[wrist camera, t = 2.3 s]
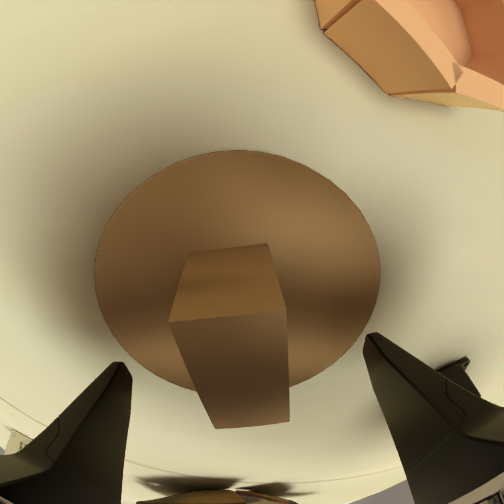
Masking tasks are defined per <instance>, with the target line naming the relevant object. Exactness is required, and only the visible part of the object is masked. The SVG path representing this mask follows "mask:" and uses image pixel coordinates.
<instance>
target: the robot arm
mask: <svg viewBox="0 0 504 504" xmlns="http://www.w3.org/2000/svg"><path fill="white" fill-rule="evenodd" d="M363 356H364V359H365V362H366V366H367V369H368V373H369V376H370V380H371V383H372V386H373V390H374V392H375V395H376V397H377V400H378V402H379V404H380V407H381V409H382V412H383V414H384V417H385V420H386V422H387V425H388V427H389V430H390V432H391V435H392V438H393V440H394V443H395V446H396V449H397V451H398V454H399V457H400V460H401V463H402V465H403V468H404V471H405V474H406V478H407V480H408V484H409V487H410V490H411V493H412V496H413V499H414V503H415V504H504V407H500V406H498V405H496V404H494V403H493V404H492V403H490V402H488V401H486V400H484V399H482V398H481V395H480V393H479V392H478V390H477V388H476V387H475V385H474V384H473V382H472V381H471V379H470V378H469V376H468V375H467V373H466V372H465V370H466V368H467V366H468V364H469V363H470V360H469V359H468V358H465V359H463V360H461V361H459V362H457V363H455V364H453V365H451V366H449V367H446V368H444V369H442V370H440V371H435V370H434V369H432V368H431V367H429V366H428V365H426V364H425V363H423V362H422V361H420V360H419V359H417V358H416V357H414V356H413V355H411V354H410V353H408V352H407V351H405V350H404V349H402V348H401V347H399V346H398V345H396V344H395V343H393V342H392V341H390V340H389V339H387V338H385V337H384V336H382V335H381V334H379V333H377V332H374V333H370V334H367V335H366V338H365V343H364V347H363ZM132 382H133V380H132V375H131V374H130V372H129V370H128V369H127V367H126V365H125V364H124V363H123V362H113V363H111V364H110V365H109V366H108V367H107V368H106V369H105V370H104V371H103V372H102V373H101V374H100V375H99V376H98V377H97V378H96V379H95V380H94V381H93V382H92V383H91V384H90V385H89V386H88V387H87V388H86V389H85V390H84V391H83V392H82V393H81V394H80V395H79V396H78V397H77V398H76V399H75V400H74V401H73V402H72V403H71V404H70V405H69V406H68V407H67V408H66V409H65V410H64V411H63V412H62V413H61V414H60V415H59V417H57V418H56V419H55V420H54V421H53V422H52V423H51V424H50V425H49V426H48V427H47V428H46V429H45V430H44V431H43V432H42V433H40V434H39V435H38V436H37V437H36V438H35V439H33V440H32V441H31V442H30V443H29V444H27V445H26V446H25V447H24V448H23V449H21V450H20V451H18V452H16V453H14V454H8V455H0V504H121V492H122V479H123V468H124V458H125V450H126V442H127V435H128V428H129V421H130V414H131V397H132Z"/></svg>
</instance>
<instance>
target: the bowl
mask: <svg viewBox="0 0 504 504" xmlns="http://www.w3.org/2000/svg"><path fill="white" fill-rule="evenodd" d="M315 3H316V8H317V13H318V18H319V23H320V28H321V29H325V30H326V31H325V32H324V34H325V35H326V36H327V37H328V38H330V39H331V40H332V41H333V42H334V43H336V44H337V45H338V46H339V47H340V48H341V49H342V50H344V51H345V52H346V53H347V54H348V55H349V56H350V57H351V58H352V59H353V60H354V61H355V62H356V63H357V64H359V65H360V66H361V67H362V68H363V69H364V70H365V71H366V72H367V73H368V74H369V75H370V77H371V78H372V79H373V80H374V81H375V82H376V83H377V84H378V85H379V86H380V87H381V88H382V89H383V90H384V92H385V93H386V94H390V96H393V97H401V98H407V99H414V100H420V101H425V102H430V103H435V104H440V105H445V106H453V107H468V108H479V109H488V110H496V111H503V112H504V0H315Z"/></svg>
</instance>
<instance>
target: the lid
mask: <svg viewBox="0 0 504 504" xmlns="http://www.w3.org/2000/svg"><path fill="white" fill-rule="evenodd" d="M379 282H380V263H379V255H378V250H377V246H376V242H375V239H374V236H373V234H372V232H371V229H370V227H369V224H368V223H367V221H366V219H365V218H364V216H363V215H362V213H361V211H360V210H359V208H358V207H357V206H356V205H355V204H354V202H353V201H352V200H351V199H350V198H349V197H348V196H347V194H346V193H344V192H343V191H342V190H341V189H340V188H338V187H337V186H336V185H335V184H334V183H332V182H331V181H330V180H329V179H327V178H325V177H324V176H322V175H320V174H319V173H317V172H315V171H313V170H312V169H310V168H308V167H306V166H305V165H302V164H300V163H297V162H295V161H292V160H290V159H287V158H285V157H281V156H277V155H272V154H268V153H264V152H255V151H242V150H234V151H220V152H212V153H208V154H203V155H199V156H194V157H191V158H188V159H186V160H183V161H181V162H178V163H176V164H173V165H171V166H169V167H167V168H166V169H164V170H162V171H161V172H159V173H157V174H155V175H154V176H152V177H151V178H149V179H148V180H146V181H145V182H144V183H142V184H141V185H140V186H139V187H138V188H136V189H135V190H134V191H133V192H132V193H131V194H129V195H128V197H127V198H126V199H125V200H124V201H123V202H122V204H121V205H120V206H119V207H118V208H117V209H116V211H115V212H114V214H113V216H112V217H111V219H110V221H109V222H108V224H107V226H106V228H105V230H104V232H103V235H102V237H101V240H100V243H99V246H98V251H97V255H96V260H95V288H96V295H97V299H98V303H99V306H100V309H101V312H102V314H103V317H104V319H105V322H106V323H107V325H108V327H109V329H110V330H111V332H112V334H113V335H114V337H115V338H116V339H117V341H118V342H119V343H120V345H121V346H122V347H123V348H124V349H125V350H126V351H127V352H128V354H129V355H130V356H131V357H132V358H134V359H135V360H136V361H137V362H138V363H140V364H141V365H142V366H143V367H145V368H146V369H148V370H149V371H151V372H152V373H154V374H155V375H157V376H159V377H161V378H163V379H165V380H167V381H168V382H171V383H173V384H176V385H178V386H181V387H184V388H187V389H190V390H194V391H197V393H198V395H199V397H200V399H201V401H202V403H203V405H204V407H205V410H206V412H207V414H208V416H209V418H210V420H211V422H212V424H213V425H214V427H215V429H225V428H240V427H251V426H261V425H269V424H277V423H284V422H290V413H289V387H291V386H294V385H296V384H299V383H301V382H303V381H305V380H307V379H310V378H311V377H313V376H315V375H317V374H318V373H320V372H322V371H323V370H325V369H326V368H327V367H329V366H330V365H332V364H333V363H334V362H335V361H337V360H338V359H339V358H340V357H341V356H342V355H343V354H344V353H345V352H346V351H347V350H348V349H349V348H350V347H351V346H352V345H353V343H354V342H355V341H356V340H357V338H358V337H359V335H360V334H361V333H362V331H363V330H364V328H365V326H366V324H367V322H368V320H369V319H370V316H371V314H372V311H373V309H374V306H375V303H376V299H377V295H378V290H379Z"/></svg>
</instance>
